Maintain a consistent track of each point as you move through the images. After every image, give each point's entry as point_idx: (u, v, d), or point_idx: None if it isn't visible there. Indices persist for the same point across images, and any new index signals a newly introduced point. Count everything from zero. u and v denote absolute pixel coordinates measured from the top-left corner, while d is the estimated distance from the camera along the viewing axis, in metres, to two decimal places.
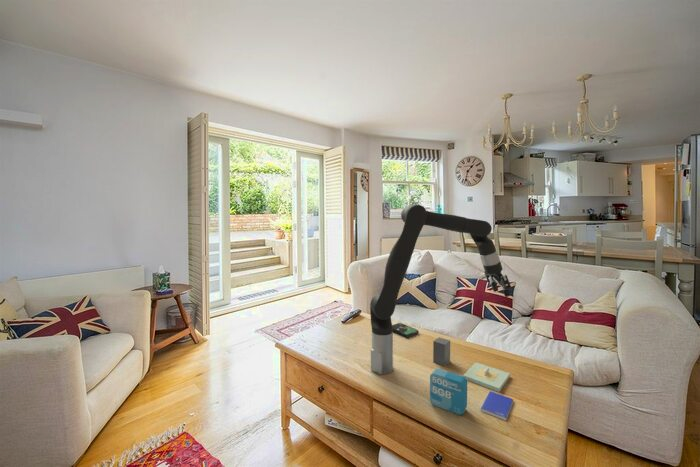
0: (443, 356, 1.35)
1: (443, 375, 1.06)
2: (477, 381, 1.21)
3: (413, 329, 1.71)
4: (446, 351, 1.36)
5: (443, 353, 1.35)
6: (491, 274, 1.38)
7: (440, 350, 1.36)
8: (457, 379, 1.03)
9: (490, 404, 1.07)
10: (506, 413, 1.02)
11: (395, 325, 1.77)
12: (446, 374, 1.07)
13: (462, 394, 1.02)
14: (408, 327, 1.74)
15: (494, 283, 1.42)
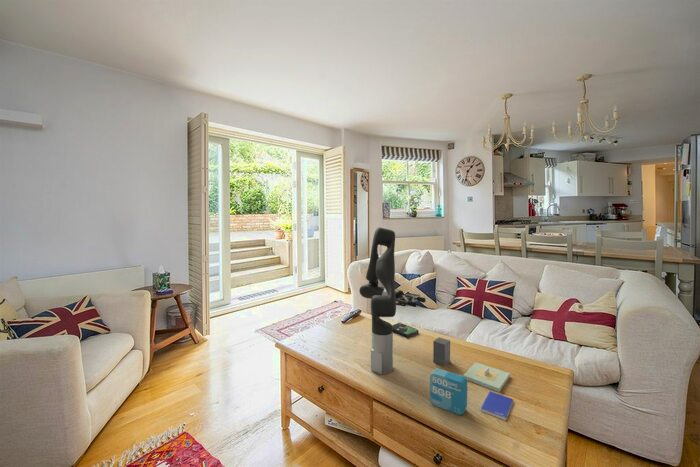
0: (443, 356, 1.35)
1: (443, 375, 1.06)
2: (477, 381, 1.21)
3: (413, 329, 1.71)
4: (446, 351, 1.36)
5: (443, 353, 1.35)
6: (401, 296, 1.50)
7: (440, 350, 1.36)
8: (457, 379, 1.03)
9: (490, 404, 1.07)
10: (506, 413, 1.02)
11: (395, 325, 1.77)
12: (446, 374, 1.07)
13: (462, 394, 1.02)
14: (408, 327, 1.74)
15: None
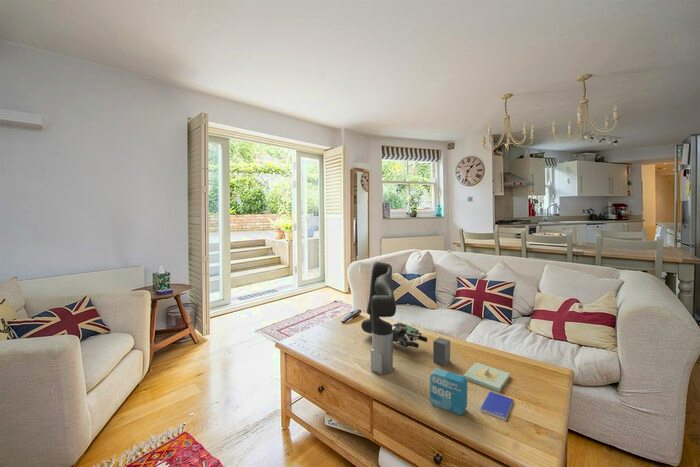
0: (443, 356, 1.35)
1: (443, 375, 1.06)
2: (477, 381, 1.21)
3: (413, 329, 1.72)
4: (446, 351, 1.36)
5: (443, 353, 1.35)
6: (403, 335, 1.51)
7: (440, 350, 1.36)
8: (457, 379, 1.03)
9: (490, 404, 1.07)
10: (506, 413, 1.02)
11: (395, 325, 1.77)
12: (446, 374, 1.07)
13: (462, 394, 1.02)
14: (408, 327, 1.75)
15: None
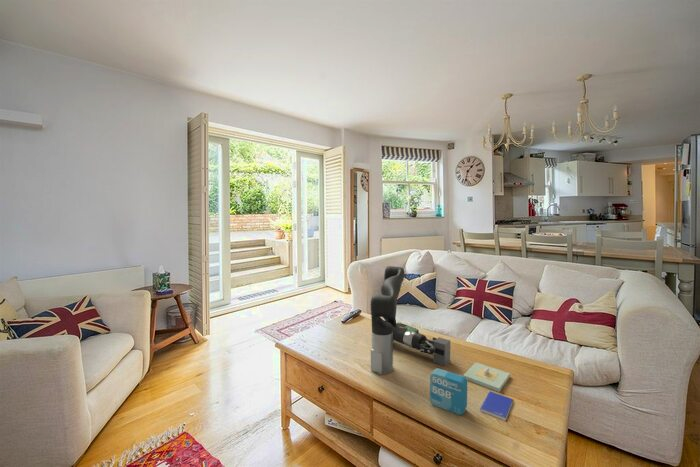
0: (443, 356, 1.35)
1: (443, 375, 1.06)
2: (477, 381, 1.21)
3: (413, 328, 1.72)
4: (446, 351, 1.36)
5: None
6: (424, 342, 1.43)
7: None
8: (457, 379, 1.03)
9: (490, 404, 1.07)
10: (505, 413, 1.02)
11: None
12: (446, 374, 1.07)
13: (462, 394, 1.02)
14: (408, 327, 1.75)
15: None
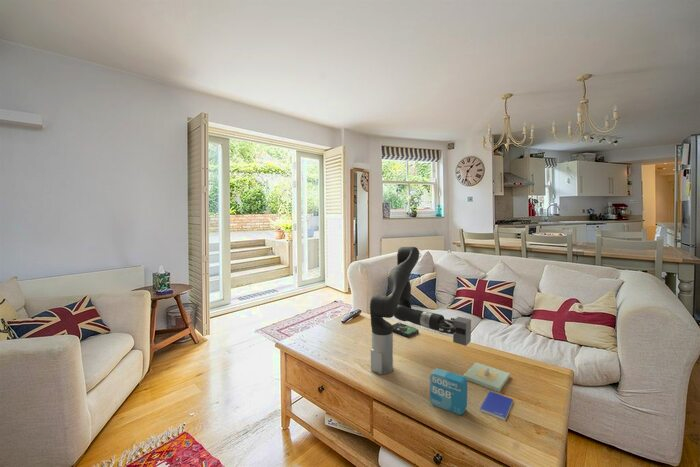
0: (464, 335, 1.28)
1: (443, 375, 1.06)
2: (477, 381, 1.21)
3: (413, 328, 1.72)
4: (467, 330, 1.29)
5: None
6: (443, 322, 1.36)
7: None
8: (457, 379, 1.03)
9: (490, 404, 1.07)
10: (505, 413, 1.02)
11: (394, 325, 1.77)
12: (446, 374, 1.07)
13: (462, 394, 1.02)
14: (408, 326, 1.75)
15: None
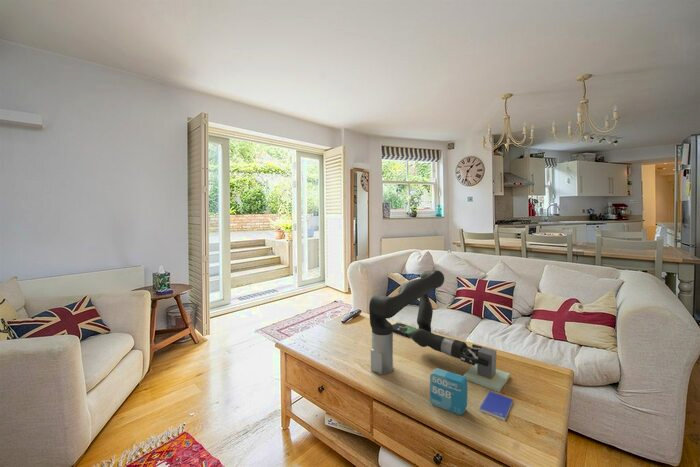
0: (489, 368, 1.21)
1: (443, 375, 1.06)
2: (477, 381, 1.21)
3: (413, 328, 1.73)
4: (493, 363, 1.22)
5: (490, 365, 1.21)
6: (466, 351, 1.29)
7: None
8: (457, 379, 1.04)
9: (489, 404, 1.07)
10: (505, 413, 1.02)
11: (394, 325, 1.77)
12: (446, 374, 1.07)
13: (462, 394, 1.02)
14: (407, 326, 1.75)
15: None
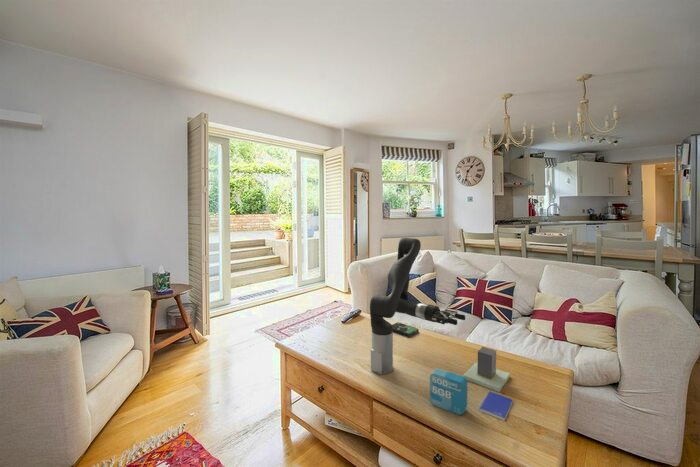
0: (489, 368, 1.21)
1: (443, 375, 1.06)
2: (477, 381, 1.21)
3: (413, 328, 1.73)
4: (493, 363, 1.22)
5: (490, 365, 1.21)
6: (438, 313, 1.37)
7: (485, 362, 1.22)
8: (457, 379, 1.04)
9: (489, 404, 1.07)
10: (504, 413, 1.02)
11: (394, 325, 1.78)
12: (446, 374, 1.07)
13: (462, 394, 1.02)
14: (407, 326, 1.76)
15: None
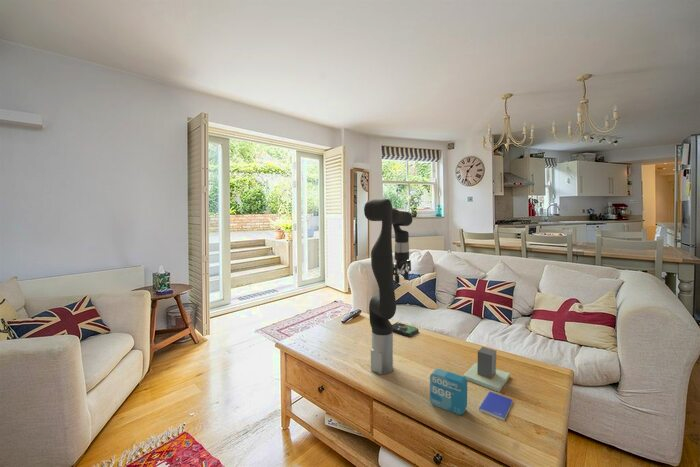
0: (489, 368, 1.21)
1: (443, 375, 1.06)
2: (477, 381, 1.21)
3: (413, 328, 1.73)
4: (493, 363, 1.22)
5: (490, 365, 1.21)
6: None
7: (485, 362, 1.22)
8: (457, 379, 1.03)
9: (489, 404, 1.07)
10: (504, 413, 1.02)
11: (394, 325, 1.78)
12: (446, 374, 1.07)
13: (462, 394, 1.02)
14: (407, 326, 1.76)
15: (406, 272, 1.59)
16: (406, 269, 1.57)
